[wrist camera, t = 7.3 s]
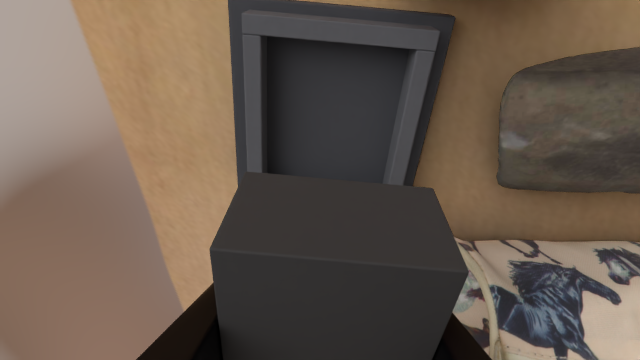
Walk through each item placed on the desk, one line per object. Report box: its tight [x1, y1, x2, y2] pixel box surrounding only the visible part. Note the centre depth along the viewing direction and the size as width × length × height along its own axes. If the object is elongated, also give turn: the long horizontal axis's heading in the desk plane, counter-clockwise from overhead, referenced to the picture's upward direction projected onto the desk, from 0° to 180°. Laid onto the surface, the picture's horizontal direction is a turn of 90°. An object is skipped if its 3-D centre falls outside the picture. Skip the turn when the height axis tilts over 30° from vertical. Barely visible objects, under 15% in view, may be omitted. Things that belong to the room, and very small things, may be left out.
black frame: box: [228, 0, 456, 186], centre depth 17 cm, size 10×10×2 cm
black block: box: [210, 172, 469, 360], centre depth 9 cm, size 6×5×3 cm
